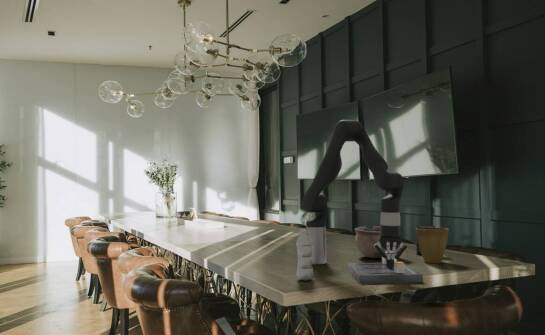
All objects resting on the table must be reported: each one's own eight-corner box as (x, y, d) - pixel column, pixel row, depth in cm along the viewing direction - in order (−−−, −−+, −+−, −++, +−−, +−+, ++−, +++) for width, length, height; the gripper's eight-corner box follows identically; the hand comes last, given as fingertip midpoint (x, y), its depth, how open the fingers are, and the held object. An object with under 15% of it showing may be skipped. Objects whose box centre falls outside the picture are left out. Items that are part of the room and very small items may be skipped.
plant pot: (452, 265, 218) (451, 229, 218) (418, 264, 221) (417, 229, 221) (446, 259, 232) (446, 226, 233) (415, 259, 235) (414, 226, 236)
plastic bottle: (315, 281, 185) (314, 229, 185) (297, 282, 184) (297, 230, 185) (312, 278, 191) (311, 228, 192) (295, 278, 191) (294, 228, 191)
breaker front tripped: (396, 273, 183) (396, 263, 183) (394, 271, 187) (393, 261, 187) (404, 273, 183) (404, 263, 183) (401, 271, 187) (401, 261, 187)
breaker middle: (389, 268, 193) (389, 260, 193) (387, 266, 197) (387, 258, 197) (397, 268, 193) (397, 260, 193) (394, 266, 197) (394, 258, 197)
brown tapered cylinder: (415, 253, 256) (415, 225, 256) (435, 253, 253) (434, 225, 254) (416, 255, 246) (415, 226, 247) (436, 256, 243) (435, 227, 244)
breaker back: (384, 264, 203) (384, 256, 203) (382, 262, 207) (381, 254, 207) (391, 264, 203) (391, 256, 203) (388, 262, 207) (388, 254, 207)
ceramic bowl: (396, 254, 251) (395, 226, 252) (403, 261, 230) (402, 230, 230) (353, 254, 254) (353, 226, 254) (356, 261, 232) (356, 230, 232)
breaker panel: (359, 283, 181) (359, 275, 181) (347, 270, 209) (347, 262, 209) (422, 282, 181) (422, 274, 181) (402, 269, 209) (402, 262, 209)
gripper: (375, 224, 182) (374, 270, 181) (410, 225, 181) (409, 271, 181) (371, 223, 189) (370, 267, 188) (404, 223, 189) (404, 267, 188)
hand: (390, 268), depth 185 cm, fingers closed
